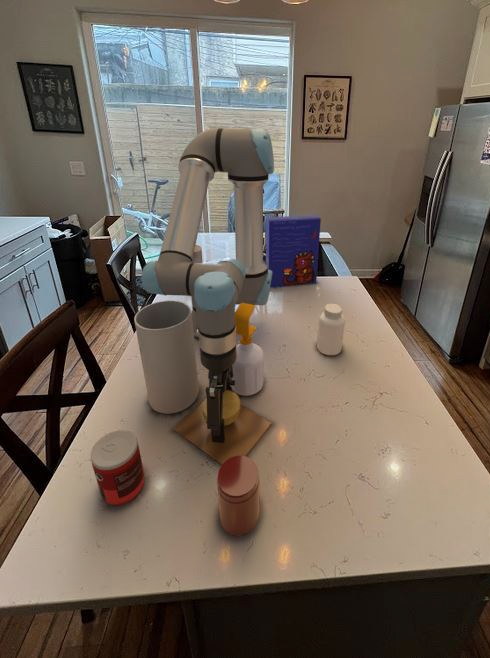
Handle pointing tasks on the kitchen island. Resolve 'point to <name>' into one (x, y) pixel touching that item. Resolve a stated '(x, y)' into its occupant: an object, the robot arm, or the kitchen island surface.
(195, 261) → the pillar candle
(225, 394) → the jar lid
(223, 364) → the robot arm
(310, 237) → the cereal box
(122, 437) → the canned food
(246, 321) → the spray bottle
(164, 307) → the cylinder vase
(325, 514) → the kitchen island surface
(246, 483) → the jam jar
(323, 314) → the pill bottle
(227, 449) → the wooden board
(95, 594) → the kitchen island surface
